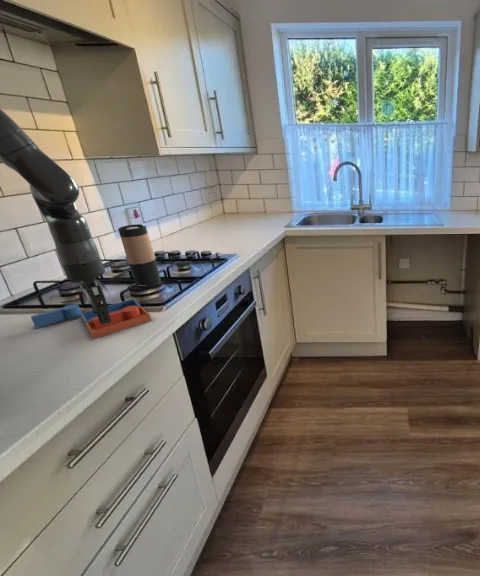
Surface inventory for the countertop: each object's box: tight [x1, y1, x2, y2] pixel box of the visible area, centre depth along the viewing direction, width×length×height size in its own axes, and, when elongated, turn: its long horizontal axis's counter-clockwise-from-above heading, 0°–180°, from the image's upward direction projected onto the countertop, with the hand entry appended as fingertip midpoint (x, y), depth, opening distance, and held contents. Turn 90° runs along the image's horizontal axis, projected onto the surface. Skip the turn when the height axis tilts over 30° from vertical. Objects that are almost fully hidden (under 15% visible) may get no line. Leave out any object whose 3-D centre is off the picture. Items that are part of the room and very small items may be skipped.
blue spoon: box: [30, 303, 82, 329], centre depth 99 cm, size 10×4×3 cm, turn 136°
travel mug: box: [117, 223, 162, 290], centre depth 119 cm, size 8×8×20 cm
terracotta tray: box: [85, 305, 152, 339], centre depth 96 cm, size 13×8×2 cm, turn 136°
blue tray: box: [80, 298, 142, 328], centre depth 102 cm, size 13×8×2 cm, turn 136°
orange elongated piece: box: [92, 306, 141, 329], centre depth 96 cm, size 10×4×3 cm, turn 136°
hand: (102, 317), depth 94 cm, fingers open, 8 cm apart
